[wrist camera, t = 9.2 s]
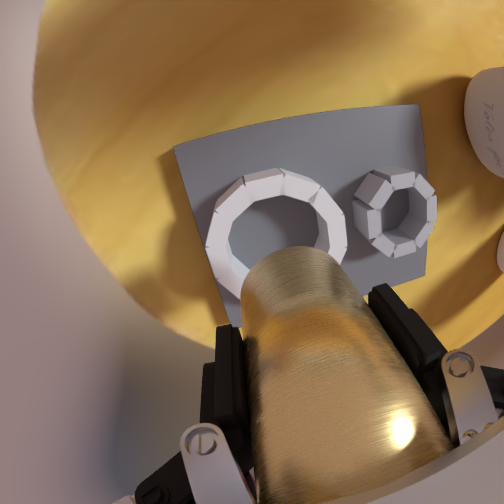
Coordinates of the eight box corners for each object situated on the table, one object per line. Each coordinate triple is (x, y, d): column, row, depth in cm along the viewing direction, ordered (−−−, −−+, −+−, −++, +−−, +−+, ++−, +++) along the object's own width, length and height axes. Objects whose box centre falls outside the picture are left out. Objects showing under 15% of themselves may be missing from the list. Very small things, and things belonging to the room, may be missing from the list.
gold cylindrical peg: (227, 262, 12) (232, 528, 3) (341, 233, 12) (497, 433, 3) (254, 346, 14) (278, 542, 5) (347, 321, 14) (430, 495, 5)
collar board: (177, 144, 18) (164, 149, 15) (408, 104, 18) (438, 104, 14) (232, 318, 25) (233, 349, 21) (416, 268, 24) (439, 289, 20)
